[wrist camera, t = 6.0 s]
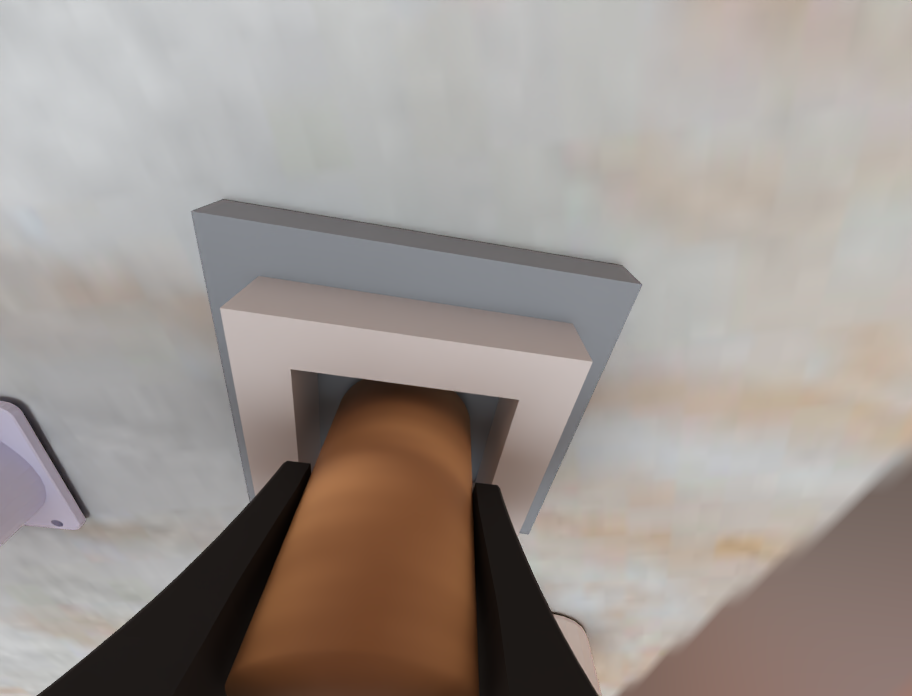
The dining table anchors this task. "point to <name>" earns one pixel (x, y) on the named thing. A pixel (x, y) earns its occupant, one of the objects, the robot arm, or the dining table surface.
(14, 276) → the dining table surface
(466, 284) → the socket board
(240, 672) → the peg
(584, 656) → the mug
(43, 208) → the dining table surface
